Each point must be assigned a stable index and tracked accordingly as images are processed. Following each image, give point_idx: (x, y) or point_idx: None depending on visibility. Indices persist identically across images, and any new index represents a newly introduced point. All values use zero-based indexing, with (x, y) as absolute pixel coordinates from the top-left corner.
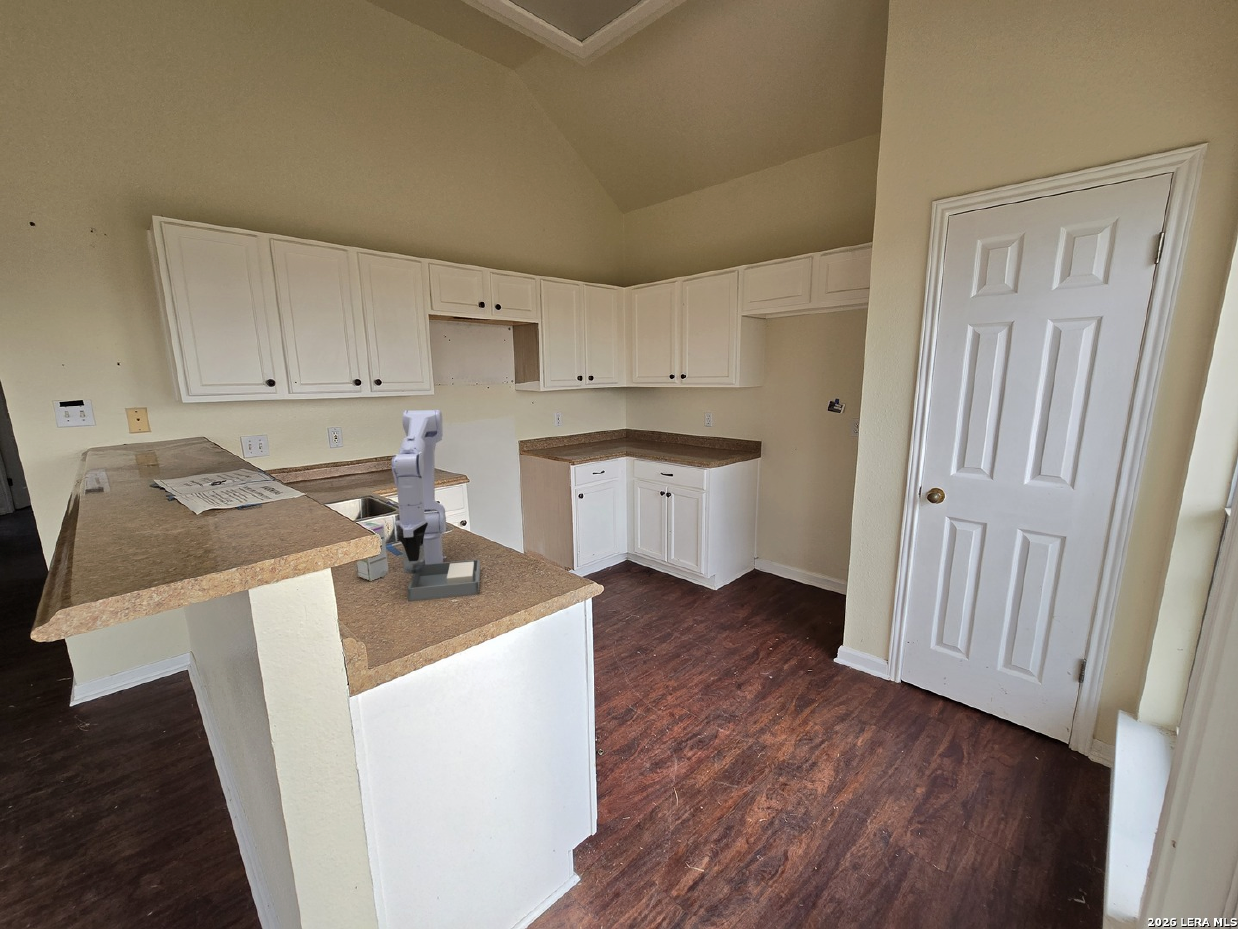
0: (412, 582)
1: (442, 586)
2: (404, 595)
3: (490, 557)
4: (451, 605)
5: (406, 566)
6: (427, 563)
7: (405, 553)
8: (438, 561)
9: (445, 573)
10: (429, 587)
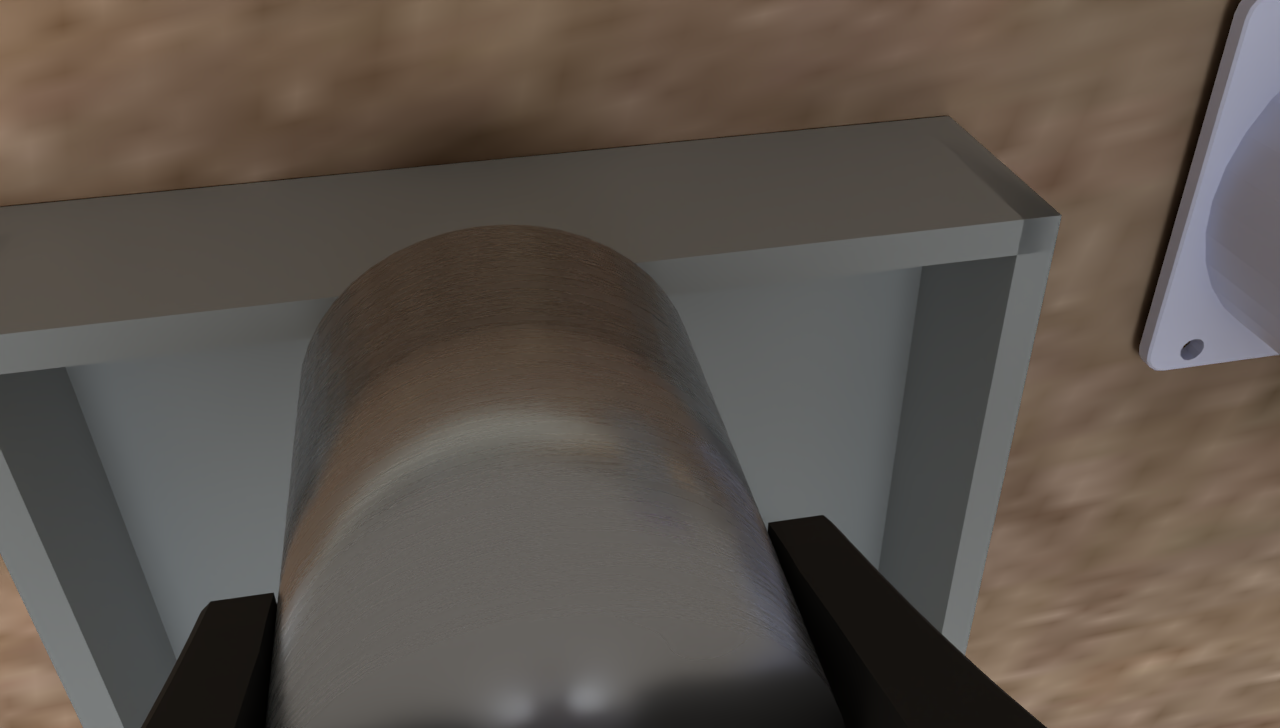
0: (234, 346)
1: (91, 726)
2: (371, 58)
3: (1245, 686)
4: (28, 654)
5: (309, 415)
6: (1266, 234)
7: (300, 654)
8: (1274, 349)
9: (895, 464)
10: (31, 609)
